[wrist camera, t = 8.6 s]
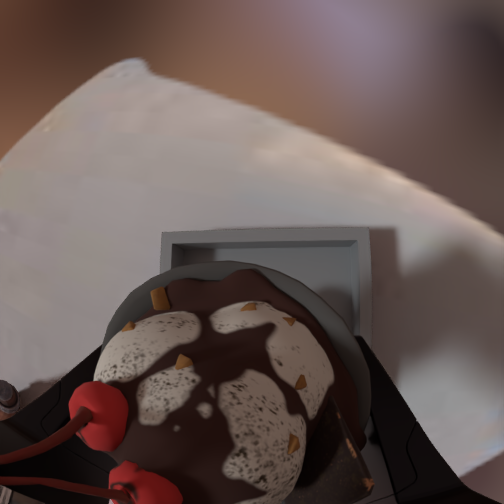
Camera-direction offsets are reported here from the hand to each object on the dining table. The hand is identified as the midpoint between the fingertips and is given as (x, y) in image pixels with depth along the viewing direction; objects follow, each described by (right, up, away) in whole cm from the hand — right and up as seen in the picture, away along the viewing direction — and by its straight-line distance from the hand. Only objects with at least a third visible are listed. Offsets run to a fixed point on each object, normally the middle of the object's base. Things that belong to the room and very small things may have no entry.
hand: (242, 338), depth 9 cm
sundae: (+1, -3, +7) cm, 7 cm away
